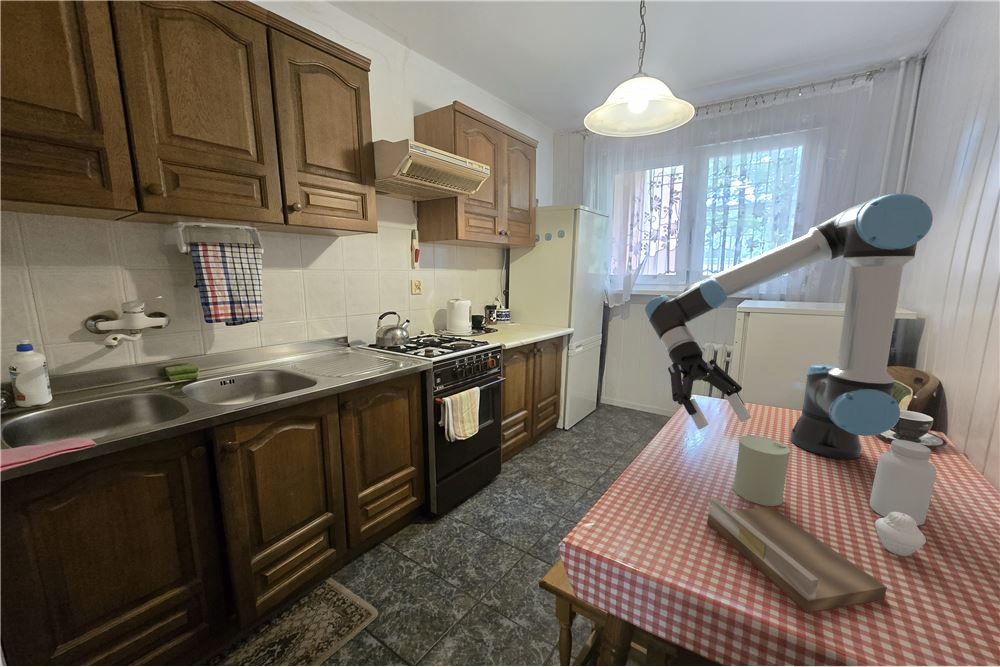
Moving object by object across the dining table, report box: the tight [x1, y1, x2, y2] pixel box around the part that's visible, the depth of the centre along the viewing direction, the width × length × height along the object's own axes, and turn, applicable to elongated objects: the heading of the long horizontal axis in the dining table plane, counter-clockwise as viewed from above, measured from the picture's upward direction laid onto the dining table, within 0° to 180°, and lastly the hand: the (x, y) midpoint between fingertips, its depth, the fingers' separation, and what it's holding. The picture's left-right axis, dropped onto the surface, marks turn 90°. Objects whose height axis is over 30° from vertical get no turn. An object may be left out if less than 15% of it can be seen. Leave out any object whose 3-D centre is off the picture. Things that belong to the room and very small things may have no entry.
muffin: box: [874, 512, 927, 557], centre depth 67 cm, size 6×6×7 cm
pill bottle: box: [869, 439, 937, 527], centre depth 77 cm, size 8×8×15 cm
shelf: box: [707, 497, 888, 614], centre depth 66 cm, size 14×20×5 cm
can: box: [732, 435, 791, 507], centre depth 84 cm, size 9×9×12 cm
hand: (725, 423), depth 90 cm, fingers open, 13 cm apart
